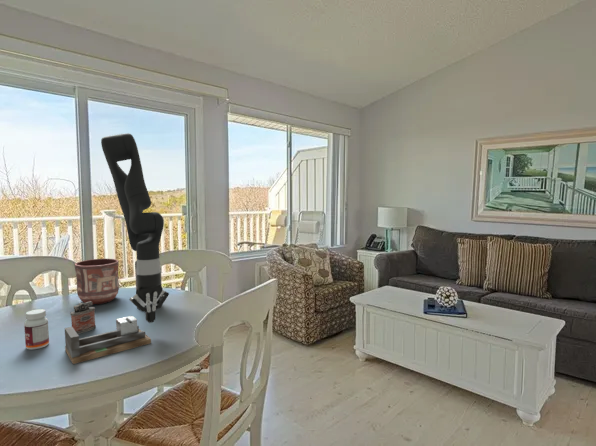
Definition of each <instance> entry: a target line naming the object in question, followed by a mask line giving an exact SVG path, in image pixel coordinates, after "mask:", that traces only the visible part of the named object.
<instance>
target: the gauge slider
mask: <svg viewBox="0 0 596 446" xmlns="http://www.w3.org/2000/svg"><path fill="white" fill-rule="evenodd" d="M115 324H116V326H115V327H116V329H115V330H117V337H121V336H125V335H129V334H133V333H137V332H138V331H137V325H138V319H137V318H136V317H134V316H133V315H128V316H124V317H120V318H116V319H115Z"/></svg>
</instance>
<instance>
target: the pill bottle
mask: <svg viewBox="0 0 596 446" xmlns="http://www.w3.org/2000/svg"><path fill="white" fill-rule="evenodd" d="M46 315H47V312H46V309H42V308H41V309H33V310H28V311H26V313H25V322H24V326H23V327H24V339H25V348H26V349H27V350H39V349H43V348H46V347H47V346H48V345H49V344H50V333H49V319H48V318H47V317H46Z"/></svg>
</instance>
